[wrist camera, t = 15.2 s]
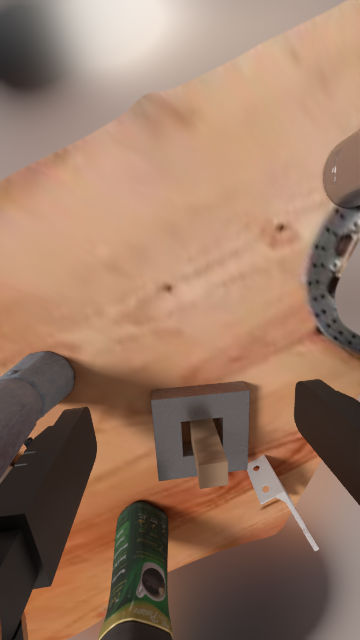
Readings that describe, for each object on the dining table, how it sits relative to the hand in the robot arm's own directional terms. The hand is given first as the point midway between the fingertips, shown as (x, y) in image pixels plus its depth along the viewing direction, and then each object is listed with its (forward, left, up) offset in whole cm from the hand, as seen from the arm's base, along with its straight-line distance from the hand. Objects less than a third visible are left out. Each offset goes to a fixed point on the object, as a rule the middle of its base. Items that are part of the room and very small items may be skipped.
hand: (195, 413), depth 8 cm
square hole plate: (-4, +23, -26) cm, 35 cm away
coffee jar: (+8, +43, -26) cm, 51 cm away
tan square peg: (-4, +23, -26) cm, 35 cm away
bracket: (-17, +37, -27) cm, 48 cm away
